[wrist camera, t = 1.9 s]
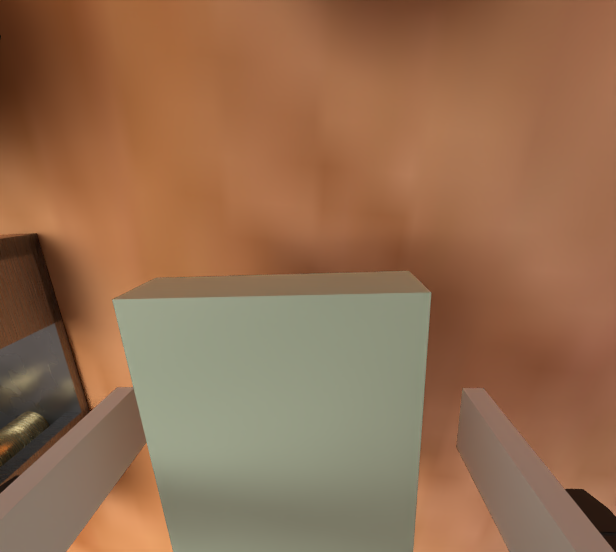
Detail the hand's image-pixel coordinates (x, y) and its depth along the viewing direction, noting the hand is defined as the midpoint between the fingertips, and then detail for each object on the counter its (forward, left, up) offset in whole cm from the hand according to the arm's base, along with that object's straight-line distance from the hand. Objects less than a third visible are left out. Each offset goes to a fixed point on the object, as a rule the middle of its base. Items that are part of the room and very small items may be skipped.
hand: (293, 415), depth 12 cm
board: (0, 0, +1) cm, 1 cm away
